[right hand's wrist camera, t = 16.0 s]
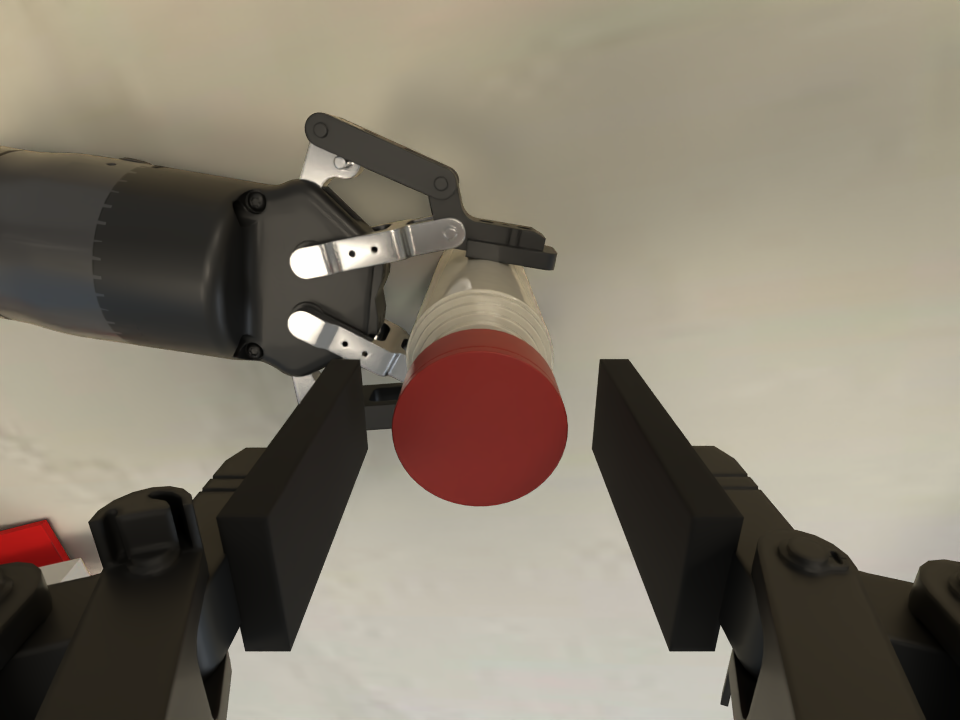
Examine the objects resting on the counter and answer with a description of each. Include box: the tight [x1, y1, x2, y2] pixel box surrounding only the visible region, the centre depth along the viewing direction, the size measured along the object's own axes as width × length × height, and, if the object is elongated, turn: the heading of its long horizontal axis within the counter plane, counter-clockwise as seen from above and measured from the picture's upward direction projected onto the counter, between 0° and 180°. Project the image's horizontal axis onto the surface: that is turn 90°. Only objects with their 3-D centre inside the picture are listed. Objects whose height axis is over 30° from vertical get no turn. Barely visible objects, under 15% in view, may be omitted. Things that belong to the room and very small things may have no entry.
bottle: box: [406, 249, 554, 371], centre depth 21 cm, size 5×5×17 cm
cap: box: [392, 329, 568, 506], centre depth 14 cm, size 4×4×2 cm
